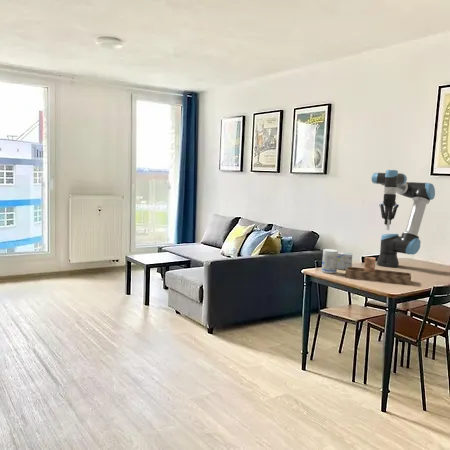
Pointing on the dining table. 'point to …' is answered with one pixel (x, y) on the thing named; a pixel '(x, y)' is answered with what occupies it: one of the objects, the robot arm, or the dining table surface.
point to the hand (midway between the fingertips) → (387, 229)
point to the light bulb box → (344, 260)
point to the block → (369, 264)
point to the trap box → (379, 275)
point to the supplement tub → (329, 261)
